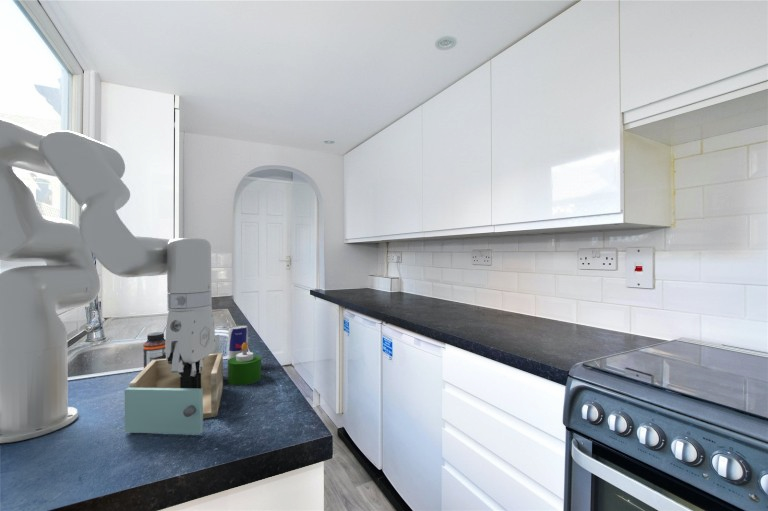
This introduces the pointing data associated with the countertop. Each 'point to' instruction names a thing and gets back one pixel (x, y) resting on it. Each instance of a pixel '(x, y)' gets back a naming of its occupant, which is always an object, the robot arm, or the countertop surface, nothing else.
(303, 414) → the countertop surface
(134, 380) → the crate
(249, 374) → the candle
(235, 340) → the energy drink
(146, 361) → the supplement bottle
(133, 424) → the door
